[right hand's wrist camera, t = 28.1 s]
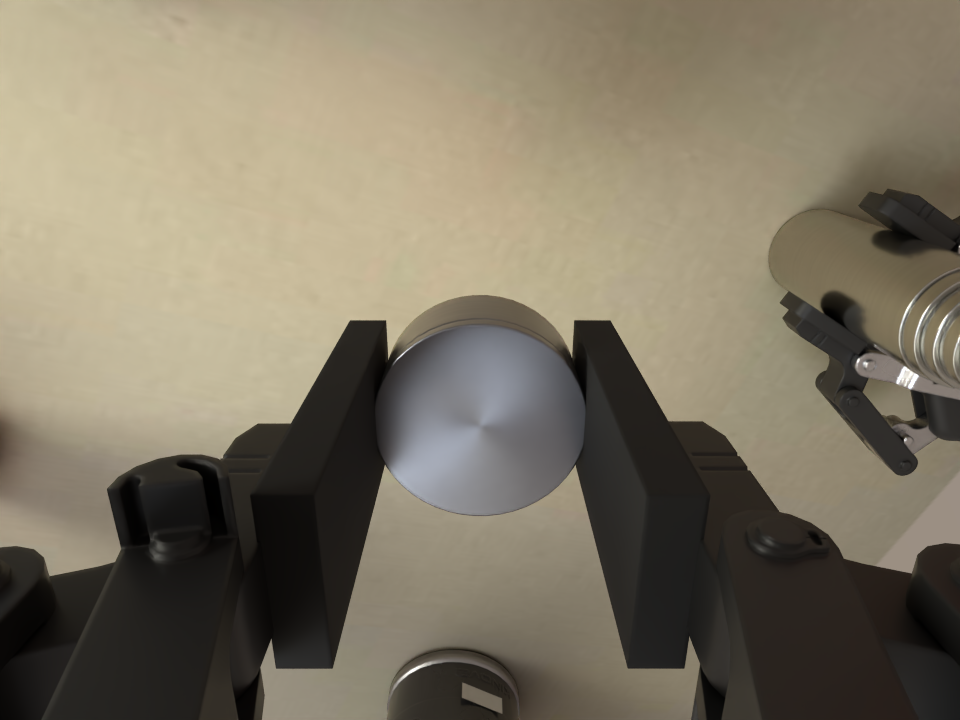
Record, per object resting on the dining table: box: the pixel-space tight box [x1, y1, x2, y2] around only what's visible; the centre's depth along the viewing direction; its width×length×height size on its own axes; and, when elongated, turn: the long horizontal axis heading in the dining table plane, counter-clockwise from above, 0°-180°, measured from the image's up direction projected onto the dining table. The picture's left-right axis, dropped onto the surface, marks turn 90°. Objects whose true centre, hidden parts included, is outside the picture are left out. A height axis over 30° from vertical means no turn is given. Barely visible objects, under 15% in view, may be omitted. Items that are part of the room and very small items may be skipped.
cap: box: [375, 295, 586, 516], centre depth 13 cm, size 4×4×2 cm
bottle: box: [769, 209, 960, 390], centre depth 28 cm, size 5×5×18 cm
